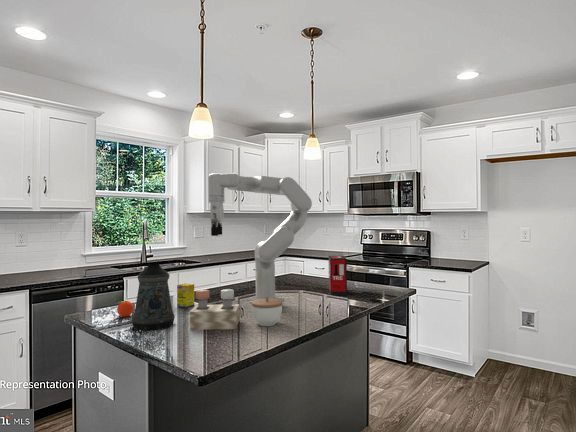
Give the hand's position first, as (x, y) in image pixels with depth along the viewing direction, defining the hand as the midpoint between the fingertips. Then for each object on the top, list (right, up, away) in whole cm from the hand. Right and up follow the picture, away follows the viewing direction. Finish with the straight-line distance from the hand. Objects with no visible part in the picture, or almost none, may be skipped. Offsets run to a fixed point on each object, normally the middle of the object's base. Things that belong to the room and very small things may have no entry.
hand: (216, 235), depth 191 cm
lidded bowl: (+26, -35, -28) cm, 52 cm away
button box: (+5, -35, -29) cm, 46 cm away
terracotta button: (0, -30, -30) cm, 42 cm away
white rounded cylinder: (+10, -30, -29) cm, 43 cm away
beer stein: (-21, -36, -28) cm, 50 cm away
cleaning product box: (+62, -35, +37) cm, 80 cm away
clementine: (-39, -36, -14) cm, 54 cm away
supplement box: (-16, -35, +4) cm, 39 cm away
